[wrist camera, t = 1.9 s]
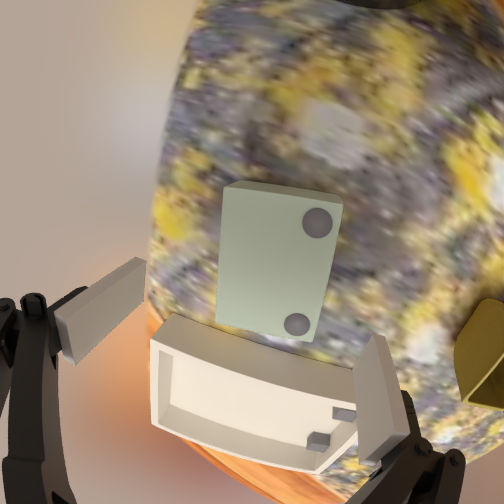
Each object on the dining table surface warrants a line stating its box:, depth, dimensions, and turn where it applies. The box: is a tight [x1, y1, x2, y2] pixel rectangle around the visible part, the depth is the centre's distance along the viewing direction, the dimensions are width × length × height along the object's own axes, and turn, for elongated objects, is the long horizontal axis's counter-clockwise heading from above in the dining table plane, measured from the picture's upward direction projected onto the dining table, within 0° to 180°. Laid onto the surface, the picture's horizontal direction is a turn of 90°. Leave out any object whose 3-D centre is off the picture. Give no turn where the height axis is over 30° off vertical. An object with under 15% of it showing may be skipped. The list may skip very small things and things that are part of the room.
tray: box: [150, 313, 358, 474], centre depth 29 cm, size 17×24×5 cm
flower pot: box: [454, 299, 504, 411], centre depth 18 cm, size 9×9×9 cm
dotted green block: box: [215, 180, 344, 342], centre depth 22 cm, size 11×8×5 cm
